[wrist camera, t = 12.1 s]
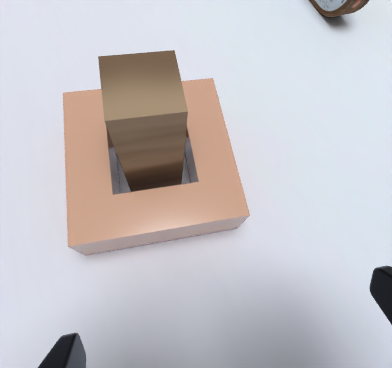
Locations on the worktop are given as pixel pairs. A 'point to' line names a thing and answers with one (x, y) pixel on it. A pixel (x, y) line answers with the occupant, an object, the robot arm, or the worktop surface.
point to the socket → (152, 198)
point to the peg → (145, 116)
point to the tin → (338, 6)
